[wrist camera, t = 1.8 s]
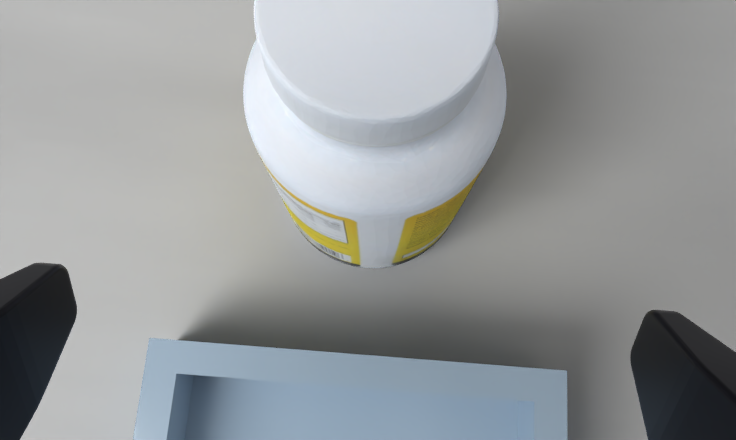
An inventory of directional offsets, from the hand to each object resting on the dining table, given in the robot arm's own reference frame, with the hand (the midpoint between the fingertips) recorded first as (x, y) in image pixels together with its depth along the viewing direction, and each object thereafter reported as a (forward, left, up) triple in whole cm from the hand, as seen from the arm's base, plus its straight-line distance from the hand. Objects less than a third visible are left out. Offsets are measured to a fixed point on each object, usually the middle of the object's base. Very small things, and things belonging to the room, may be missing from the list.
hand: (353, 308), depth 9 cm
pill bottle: (+4, -4, -12) cm, 14 cm away
